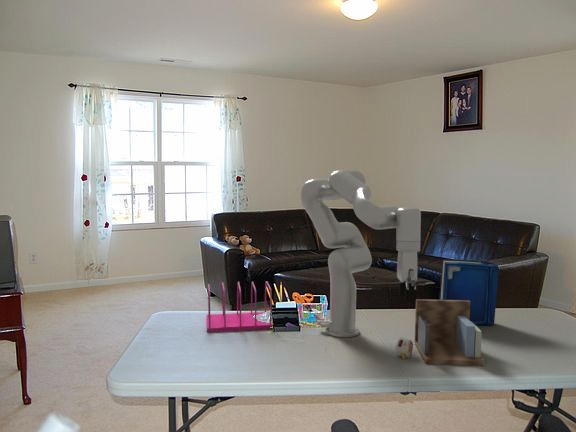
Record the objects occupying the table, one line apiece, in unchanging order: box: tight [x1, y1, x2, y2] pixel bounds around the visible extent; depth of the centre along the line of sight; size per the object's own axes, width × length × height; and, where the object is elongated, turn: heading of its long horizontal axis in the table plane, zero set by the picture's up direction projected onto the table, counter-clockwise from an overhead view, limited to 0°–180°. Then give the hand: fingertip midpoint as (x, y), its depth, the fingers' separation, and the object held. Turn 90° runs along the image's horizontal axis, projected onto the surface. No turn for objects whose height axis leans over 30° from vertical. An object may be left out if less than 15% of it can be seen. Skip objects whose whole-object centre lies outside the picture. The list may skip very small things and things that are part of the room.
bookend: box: [418, 315, 430, 356], centre depth 163 cm, size 1×11×10 cm, turn 177°
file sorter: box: [205, 281, 274, 333], centre depth 193 cm, size 17×25×16 cm
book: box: [438, 259, 500, 327], centre depth 195 cm, size 22×7×25 cm, turn 84°
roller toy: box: [395, 337, 414, 360], centre depth 161 cm, size 4×6×6 cm
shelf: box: [414, 298, 485, 367], centre depth 163 cm, size 18×18×16 cm
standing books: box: [456, 316, 483, 358], centre depth 162 cm, size 5×11×10 cm, turn 177°
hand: (407, 298), depth 160 cm, fingers open, 9 cm apart
